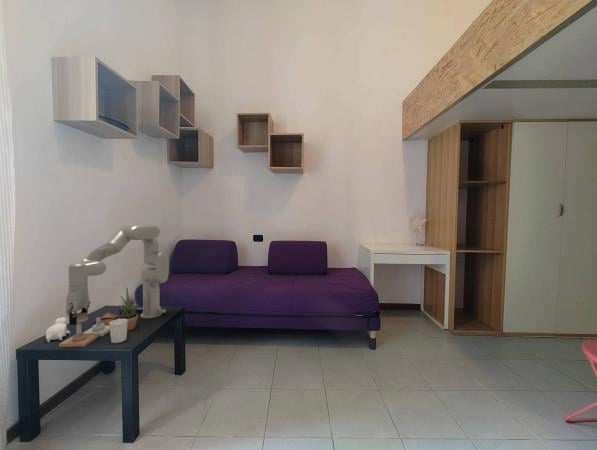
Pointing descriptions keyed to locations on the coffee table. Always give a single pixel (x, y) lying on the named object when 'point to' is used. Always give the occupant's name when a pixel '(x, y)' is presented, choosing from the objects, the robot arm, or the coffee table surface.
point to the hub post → (78, 338)
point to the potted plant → (129, 311)
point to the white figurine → (57, 330)
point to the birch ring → (81, 317)
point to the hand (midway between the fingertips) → (78, 321)
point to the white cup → (118, 330)
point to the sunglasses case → (108, 318)
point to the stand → (98, 328)
